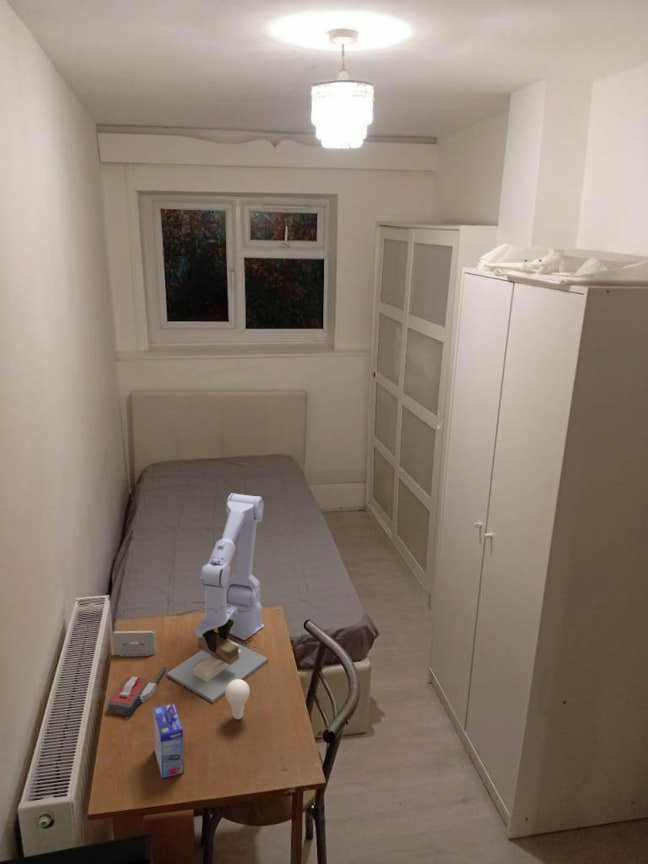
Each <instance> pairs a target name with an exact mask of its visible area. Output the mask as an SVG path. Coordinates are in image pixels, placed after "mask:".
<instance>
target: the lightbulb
mask: <svg viewBox="0 0 648 864" xmlns="http://www.w3.org/2000/svg"><path fill="white" fill-rule="evenodd" d="M250 692H251V691H250V686H249V684H248V683H247V682H246V681H245V680H241V679H235V680H233V681H231V682H230V683H229V684H228V685H227V687H226V690H225V695H224V696H225V698H226V701H227V702H228V703H229V704H230V707H231V711H232V717H233V718H234V719H235V720H240V719H242V718H243V717H244V710H245V704H246V702H247V701H248V699H249V696H250V694H251V693H250Z"/></svg>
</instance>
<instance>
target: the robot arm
mask: <svg viewBox="0 0 648 864" xmlns="http://www.w3.org/2000/svg"><path fill="white" fill-rule="evenodd" d="M264 503H265V502H264V500H263V498H262V497H261V496H260V495H258V496H255V495H247V494H239V493H235V492H231V493H230V494H229V495H228V497H227V499H226V503H225V505H226V507H225V508H226V515H227V520H226V522H225V523H226V524H225V527H224V530H223V535H222V537H221V539H219V540H216V542H215V545H214V547H213V550H212V553H211V555H210V557H209V560H208V562H207V563H206V564H204V565H203V566H202V568H201V571H200V577H199V581H200V584H201V586H202V590H203V591H204V603H205V604H204V606H205V607H204V608H205V614H203V616H204V619H203V620H202V621H201V623H200V624H199V625H198V626H197V627H196V628H194V636H195V637H197V638H198V639H199V638H201V637H202V635H203V637H204V638H205V640H206V642H207V645H208V648H209V650H210V651H212V652H215V651H216V641H217V637H218V636H219V637H221V638H223V639H225V640H227V638H228V639H229V634H230V635H232V636H234V637H236V638H238V639H241V640H242V641H246V640H248V638H250V637H252V636H253V635H255V634H256V633H257V632H259V631H261V630H262V629H264V627H265V625H264V623H263V606H262V604H261V602H260V600H261V583H260V580H258V579H257V578H256V577H255V576H254V575H253V564H254V556H255V546H256V544H255V543H256V535H257V534H256V532H257V525H258V523H260V522H262V520H263V517H264V516H263V515H264V507H265V506H264V505H265V504H264ZM238 535H239V537H238ZM237 537H238V546H237V547H238V548H237V549H238V550H237V559H236V567H235V568H236V569H235V571H236V572H235V574H234V575H232V576H231V577H230V571H231V566H230V565H231V563H232V561H233V557H234V554H235V551H236V545H235V542H236V539H237ZM227 604H228V605H229V606H227ZM215 629H217V631H216V630H215Z"/></svg>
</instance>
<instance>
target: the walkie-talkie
mask: <svg viewBox="0 0 648 864" xmlns="http://www.w3.org/2000/svg"><path fill="white" fill-rule="evenodd" d="M166 669H167V668H166V666H163V667H162V668H161V669H160V671H159V672H158V674H157V675H156V677H155V679H154V680H152V682H150V681H149V680H148V679H146V678H142V677H137V676H129V677H126V678H125V679H124V681H123V682H122V683H121V685H120V687H119V688H118V689H117V690H116V692H115V693H114V695H113V696H112V697H111V699H110V700H109V701H108V703H107V705H108V706H107V708H108V712H109V714H113V713H117V714H116V715H120V714H121V715H120V716H125V717H127V718H129V717H131V715H133V713H134V712H135V710H137V708H138V705H140V704H142V703H144V702H147V701H148V700H150V699H151V698H152V696H153V694H154V693H155V692H156V691H157V689H158V688H157V684H158V682H159V681H160V679H161V678H162V676H163V674H164V673H165V671H167V670H166Z"/></svg>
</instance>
